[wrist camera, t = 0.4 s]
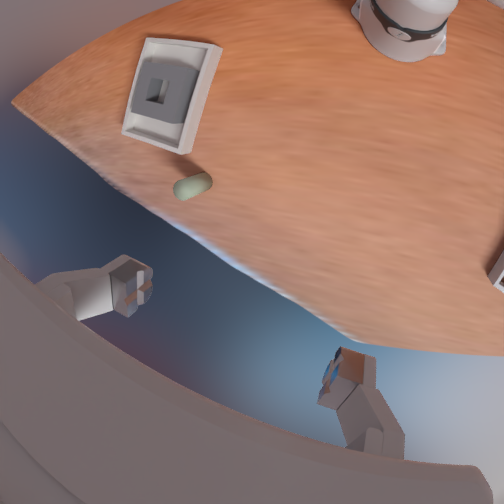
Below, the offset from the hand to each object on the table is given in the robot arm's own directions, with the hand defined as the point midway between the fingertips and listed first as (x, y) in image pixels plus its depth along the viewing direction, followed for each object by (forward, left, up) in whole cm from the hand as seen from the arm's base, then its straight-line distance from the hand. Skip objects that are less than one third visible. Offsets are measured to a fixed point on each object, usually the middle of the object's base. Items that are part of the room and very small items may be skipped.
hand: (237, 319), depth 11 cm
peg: (+13, -24, -46) cm, 54 cm away
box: (-4, -38, -46) cm, 60 cm away
